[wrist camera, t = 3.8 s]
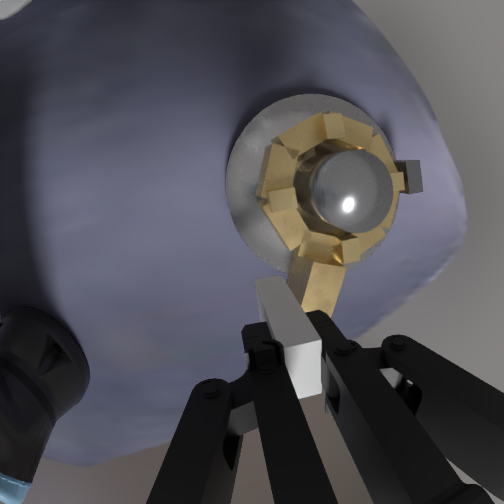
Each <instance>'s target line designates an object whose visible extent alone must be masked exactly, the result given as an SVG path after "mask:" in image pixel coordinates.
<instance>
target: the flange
mask: <svg viewBox="0 0 504 504" xmlns="http://www.w3.org/2000/svg"><path fill="white" fill-rule="evenodd" d="M329 111H331V112H334V113H341V114H342V116H345V117H348V118H350V119H353V120H356V121H358V122H361V123H363V124H366V125H368V126H371V127H373V132H372V135H373V134H380V136H381V138H382V140H383V141H384V143H385V145H386V147H387V149H388V152H389V154H390V156H391V158H392V160H393V162H394V164H395V166H396V169H397V171H398V172H403V176H404V186H405V190H401V191H399V193H398V198H397V202H396V207H395V211H394V215H393V219H392V223H391V226H392V224H393V221H394V219H395V215H396V212H397V208H398V203H399V195H400V193H406V194H413V193H418V192H423V185H422V176H421V168H420V160H396V158H395V155H394V152H393V150H392V147H391V145H390V143H389V141H388V140H387V138H386V136H385V134H384V133H383V132H382V130H381V129H380V128H379V126H378V125H377V124H376V123H375V122H374V121H373V120H372V119H371V118H370V117H369V116H368V115H367V114H366V113H365V112H363V111H362V110H361V109H359V108H358V107H356V106H354V105H353V104H351V103H349V102H347V101H344V100H342V99H339V98H336V97H333V96H328V95H322V94H302V95H295V96H291V97H288V98H284V99H282V100H280V101H277V102H275V103H273V104H271V105H270V106H268V107H267V108H265V109H263V110H262V111H261V112H260V113H259V114H257V115H256V116H255V117H254V118H253V119H252V120H251V121H250V122H249V123H248V125H247V126H246V127H245V128H244V130H243V131H242V133H241V134H240V136H239V137H238V139H237V141H236V142H235V145H234V147H233V149H232V151H231V154H230V157H229V161H228V164H227V171H226V184H225V190H226V198H227V204H228V207H229V211H230V214H231V217H232V219H233V221H234V224H235V226H236V228H237V230H238V232H239V234H240V235H241V237H242V239H243V240H244V242H245V243H246V244H247V245H248V247H249V248H250V249H251V250H252V251H253V252H254V253H255V254H256V255H257V256H258V257H259V258H260V259H262V260H263V261H264V262H266V263H267V264H268V265H270V266H272V267H274V268H275V269H277V270H279V271H282V272H284V273H287V274H289V270H290V267H291V263H292V259H293V255H294V252H293V251H292V250H291V251H290V250H289V249H288V248H287V247H286V246H285V245H284V244H283V243H282V242H281V240H280V239H279V237H278V236H277V234H276V232H275V231H274V229H273V228H272V226H271V225H270V223H269V221H268V220H267V218H266V217H265V215H264V214H263V212H262V211H261V209H260V208H259V206H258V205H257V203H258V202H259V201H261V200H262V199H264V198H262V197H259V196H257V195H255V193H256V188H257V183H258V179H259V174H260V169H261V165H262V160H263V156H264V151H265V147H267V146H268V145H270V144H272V142H271V141H270V140H271V139H273V138H275V137H276V136H278V135H280V134H282V133H283V132H285V131H287V130H288V129H290V128H292V127H294V126H295V125H297V124H299V123H301V122H303V121H304V120H306V119H308V118H310V117H312V116H313V115H315V114H317V113H319V112H322V114H324V113H327V112H329ZM291 187H295V193H296V199H297V205H298V208H296V209H297V211H298V212H299V214H300V216H301V217H302V219H303V221H304V223H305V224H306V226H307V227H312V228H317V229H321V230H326V231H330V232H331V231H333V230H334V229H336V228H337V227H338V228H340V229H342V230H345V231H347V232H350V233H364V232H368V231H370V230H372V229H374V228H376V227H377V226H378V225H379V224H381V222H382V221H383V220H384V219H385V218H386V216H387V214H388V212H389V210H390V208H391V205H392V200H393V183H392V179H391V176H390V173H389V171H388V169H387V167H386V166H385V164H384V163H383V162H382V161H381V160H380V159H379V158H378V157H377V156H375V155H374V154H372V153H370V152H367V151H364V150H349V151H348V150H345V149H342V148H339V147H336V146H333V145H330V144H327V143H324V142H321V143H319V144H318V145H316V146H314V147H312V148H311V149H309V150H307V151H306V152H304V153H303V154H301V155H299V156H298V159H297V163H296V168H295V173H294V177H293V182H292V186H291ZM382 228H383V230H384V232H385V235H386V236H387V234H388V232H389V230H390V228H391V227H390V228H386V227H382ZM386 236H385V237H386ZM385 237H383V238H382V239H381V240H379V241H378V242H377V243H375V244H374V245H373V246H371V247H370V248H369V249H367V250H366V251H365V252H363V253H362V254H361V255H360V260H358V261H354V262H351V263H347V264H342V265H344V266H345V267H346V268H347V269H346V271H348V270H350V269H352V268H354V267H356V266H357V265H359V264H360V263H362V262H363V261H365V260H366V259H367V258H368V257H369V256H370V255H372V254H373V252H374V251H375V250H376V249H377V248H378V247H379V246H380V244H381V243H382V242H383V240H384V239H385Z"/></svg>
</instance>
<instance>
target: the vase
mask: <svg viewBox="0 0 504 504" xmlns="http://www.w3.org/2000/svg"><path fill="white" fill-rule="evenodd" d="M32 1H33V0H0V21H1V20H5V19H8V18H10V17H11V16H13V15H15V14H16V13H18V12H20V11H21V10H22V9H23V8H24V7H26V6H27V5H28V4H29V3H30V2H32Z"/></svg>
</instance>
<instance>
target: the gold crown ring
mask: <svg viewBox="0 0 504 504" xmlns="http://www.w3.org/2000/svg"><path fill="white" fill-rule="evenodd" d="M372 132H373V127H371V126H368V125H366V124H363V123H361V122H358V121H356V120H353V119H350V118H348V117H345V116H342V114H341V113H334V112H331V111H329V112H327V113H324V114H322V112H319V113H317V114H315V115H313V116H312V117H310V118H308V119H306V120H304V121H303V122H301V123H299V124H297V125H295V126H294V127H292V128H290V129H288V130H287V131H285V132H283V133H282V134H280V135H278V136H276V137H275V138H273V139H271V140H270V141H271V142H272V144H270V145H268V146H267V147H265V151H264V156H263V160H262V165H261V169H260V174H259V179H258V183H257V188H256V193H255V195H257V196H259V197H262V198H264V199H262V200H261V201H259V202H258V203H257V205H258V206H259V208H260V209H261V211H262V212H263V214H264V215H265V217H266V218H267V220H268V221H269V223H270V225H271V226H272V228H273V229H274V231H275V232H276V234H277V236H278V237H279V239H280V240H281V242H282V243H283V244H284V245H285V246H286V247H287V248H288V249H289V250H290V251H291V250H292V251H293V252H294V255H293V259H292V263H291V267H290V270H289V274H288V278H287V282H286V283H287V285H288V287H289V288H290V290H291V291H292V293H293V294H294V296H295V298H296V299H297V301H298V302H299V304H300V306H301V307H302V309H303V310H304V312H305V313H306V312H310V311H315V310H321V311H323V312H325V313H327V314H328V315H329V317H331V316H332V313H333V310H334V307H335V304H336V301H337V298H338V295H339V291H340V288H341V285H342V282H343V279H344V275H345V272H346V269H347V268H346V267H345V266H344V265H342V264H347V263H351V262H354V261H358V260H360V255H361V254H362V253H363V252H365V251H366V250H367V249H369V248H370V247H371V246H373V245H374V244H375V243H377V242H378V241H379V240H381V239H382V238H383V237H385V236H386V235H385V232H384V230H383V228H382V227H386V228H390V227H391V223H392V219H393V215H394V211H395V207H396V202H397V198H398V193H399V191H401V190H405V186H404V176H403V172H398V171H397V169H396V166H395V164H394V162H393V160H392V158H391V156H390V154H389V152H388V149H387V147H386V145H385V143H384V141H383V140H382V138H381V136H380V134H373V135H372ZM321 142H324V143H327V144H330V145H333V146H336V147H339V148H342V149H345V150H348V151H349V150H364V151H367V152H370V153H372V154H374V155H375V156H377V157H378V158H379V159H380V160H381V161H382V162H383V163H384V164H385V166H386V167H387V169H388V171H389V173H390V176H391V179H392V183H393V200H392V205H391V208H390V210H389V212H388V214H387V216H386V218H385V219H384V220H383V221H382V222H381V224H379V225H378V226H377V227H376V228H374V229H372V230H370V231H368V232H364V233H350V232H347V231H345V230H342V229H340V228H338V227H337V228H336V229H334V230H333V231H331V232H330V231H326V230H321V229H317V228H312V227H307V226H306V224H305V223H304V221H303V219H302V217H301V216H300V214H299V212H298V211H297V209H296V208H298V205H297V199H296V193H295V187H291V186H292V182H293V177H294V173H295V168H296V163H297V159H298V156H299V155H301V154H303V153H304V152H306V151H307V150H309V149H311V148H312V147H314V146H316V145H318V144H319V143H321Z"/></svg>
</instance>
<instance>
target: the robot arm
mask: <svg viewBox="0 0 504 504" xmlns="http://www.w3.org/2000/svg"><path fill="white" fill-rule="evenodd" d="M255 287H256V294H257V300H258V307H259V314H260V320H261V322H260V323H254V324H249V325H245V326H244V328H243V330H242V332H241V333H242V339H243V344H244V350H245V352H244V354H245V359H246V364H247V370H246V372H245V373H244V375H243V376H242V377H240V378H239V379H237V380H235V381H233V382H230V383H228V382H226V381H224V380H222V379H216V378H214V379H207V380H204V381H201V382H200V383H199V384H197V385H196V386H195V387H194V389H193V390H192V392H191V395H190V397H189V400H188V402H187V405H186V407H185V409H184V412H183V414H182V417H181V419H180V422H179V424H178V426H177V429H176V431H175V434H174V436H173V439H172V441H171V444H170V446H169V448H168V451H167V453H166V456H165V458H164V461H163V463H162V466H161V468H160V470H159V473H158V475H157V478H156V480H155V483H154V485H153V488H152V490H151V493H150V495H149V498H148V500H147V502H146V504H230V503H231V498H232V493H233V488H234V483H235V478H236V473H237V467H238V462H239V458H240V452H241V447H242V442H243V434H245V433H247V432H249V431H251V430H254V429H256V428H258V427H259V432H260V436H261V441H262V447H263V451H264V456H265V461H266V466H267V471H268V476H269V480H270V485H271V490H272V494H273V498H274V503H275V504H338V502H337V499H336V497H335V494H334V491H333V489H332V486H331V484H330V481H329V479H328V476H327V473H326V471H325V468H324V465H323V463H322V460H321V458H320V455H319V452H318V450H317V447H316V444H315V442H314V439H313V437H312V434H311V431H310V429H309V426H308V424H307V421H306V418H305V415H304V413H303V410H302V407H301V405H300V402H299V399H300V398H304V397H308V396H312V395H316V394H320V393H322V385H323V387H324V389H325V391H326V394H325V413H328V408H329V409H330V411H331V413H332V416H333V418H334V420H335V422H336V424H337V426H338V428H339V430H340V432H341V435H342V437H343V439H344V441H345V443H346V445H347V447H348V450H349V451H350V454H351V456H352V458H353V460H354V462H355V464H356V466H357V469H358V471H359V473H360V475H361V477H362V479H363V482H364V484H365V486H366V488H367V490H368V492H369V494H370V497H371V499H372V501H373V503H374V504H495V503H494V502H493V501H492V499H491V498H490V496H489V495H488V493H487V492H486V491H485V490H484V489H483V488H482V487H484V488H485V489H486V490H488V491H489V492H490V493H492V494H493V495H494V496H496V497H497V498H499V499H501V500H502V501H504V393H503V392H501V391H499V390H497V389H496V388H494V387H493V386H491V385H489V384H488V383H486V382H484V381H483V380H481V379H479V378H478V377H476V376H474V375H472V374H471V373H469V372H467V371H466V370H464V369H462V368H460V367H459V366H457V365H455V364H454V363H452V362H450V361H449V360H447V359H445V358H444V357H442V356H440V355H439V354H437V353H435V352H434V351H432V350H430V349H429V348H427V347H425V346H423V345H422V344H420V343H418V342H417V341H415V340H413V339H411V338H410V337H407V336H405V335H392V336H389V337H386V338H385V339H384V340H383V342H382V345H381V347H378V348H362V347H361V346H360V345H359V344H358V343H357V342H355V341H352V340H347V339H346V338H345V337H344V335H343V334H342V333H341V331H340V330H339V329H338V327H337V326H336V325H335V323H334V322H333V321H332V320H331V318H330V317H329V315H328V314H327V313H325V312H323V311H321V310H315V311H310V312H306V313H305V312H304V310H303V309H302V307H301V306H300V304H299V302H298V301H297V299H296V298H295V296H294V294H293V293H292V291H291V290H290V288H289V287H288V285H287V283H286V282H285V280H284V279H283V277H282V275H280V276H274V277H269V278H263V279H257V280H255ZM407 380H410V381H411V382H413V385H412V384H409V383H408V382H407ZM89 381H90V373H89V368H88V364H87V361H86V359H85V357H84V355H83V353H82V351H81V349H80V347H79V346H78V344H77V343H76V342H75V340H74V339H73V338H72V336H71V335H70V334H69V333H68V332H67V331H66V330H65V329H64V328H63V327H62V326H61V325H60V324H59V323H58V322H56V321H55V320H54V319H53V318H51V317H50V316H48V315H46V314H45V313H43V312H41V311H39V310H36V309H33V308H29V307H19V308H15V309H13V310H12V311H10V312H9V313H8V314H7V315H6V316H5V317H4V318H3V319H2V320H1V321H0V501H1V502H3V503H5V504H21V503H22V502H23V500H24V497H25V495H26V493H27V491H28V488H29V487H31V485H32V481H33V477H34V475H35V472H36V469H37V467H38V464H39V461H40V459H41V456H42V454H43V451H44V449H45V446H46V444H47V441H48V439H49V437H50V434H51V432H52V429H53V427H54V425H55V423H56V421H57V420H58V419H59V418H60V417H61V416H63V415H64V414H65V413H66V412H67V411H69V410H70V409H71V408H72V407H73V406H74V405H76V404H77V403H78V402H79V401H80V400H81V399H82V398H83V396H84V394H85V392H86V390H87V387H88V385H89ZM445 457H446V458H447V459H448V460H449V461H451V462H452V463H453V464H454V465H456V466H457V467H458V468H459V469H461V470H462V471H463V472H464V473H466V474H467V475H468V476H469V477H471V478H472V479H473V480H475V481H476V482H477V483H479V484H480V485H481V486H482V487H481V486H479V485H477V484H465V483H463V482H462V480H461V479H460V478H459V477H458V475H457V474H456V472H455V471H454V469H453V468H452V467H451V465H450V464H449V462H448V461H447V460H446V458H445Z"/></svg>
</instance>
